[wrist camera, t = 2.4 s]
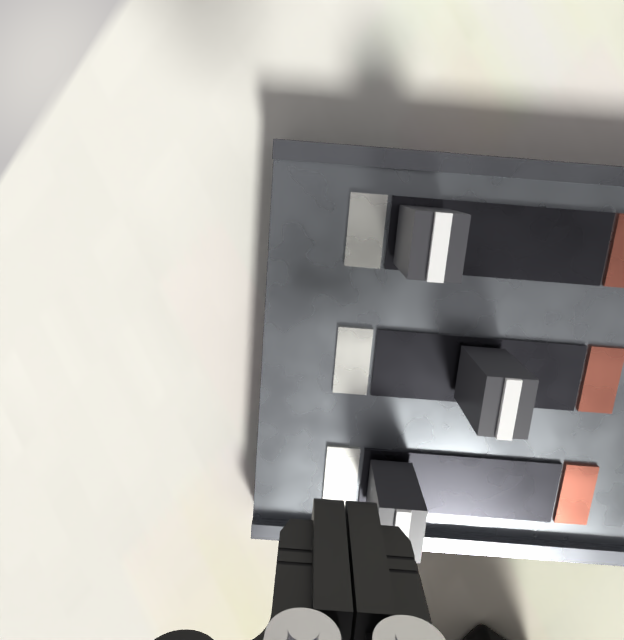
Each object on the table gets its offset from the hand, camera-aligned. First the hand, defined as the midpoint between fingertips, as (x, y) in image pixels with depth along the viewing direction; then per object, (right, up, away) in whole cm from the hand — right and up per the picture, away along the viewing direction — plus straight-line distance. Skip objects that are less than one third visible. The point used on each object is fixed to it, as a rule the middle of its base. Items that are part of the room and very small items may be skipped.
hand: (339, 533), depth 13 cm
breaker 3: (+7, +3, +12) cm, 14 cm away
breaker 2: (+4, +9, +11) cm, 14 cm away
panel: (+7, +3, +15) cm, 17 cm away
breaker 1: (+3, -3, +14) cm, 14 cm away
